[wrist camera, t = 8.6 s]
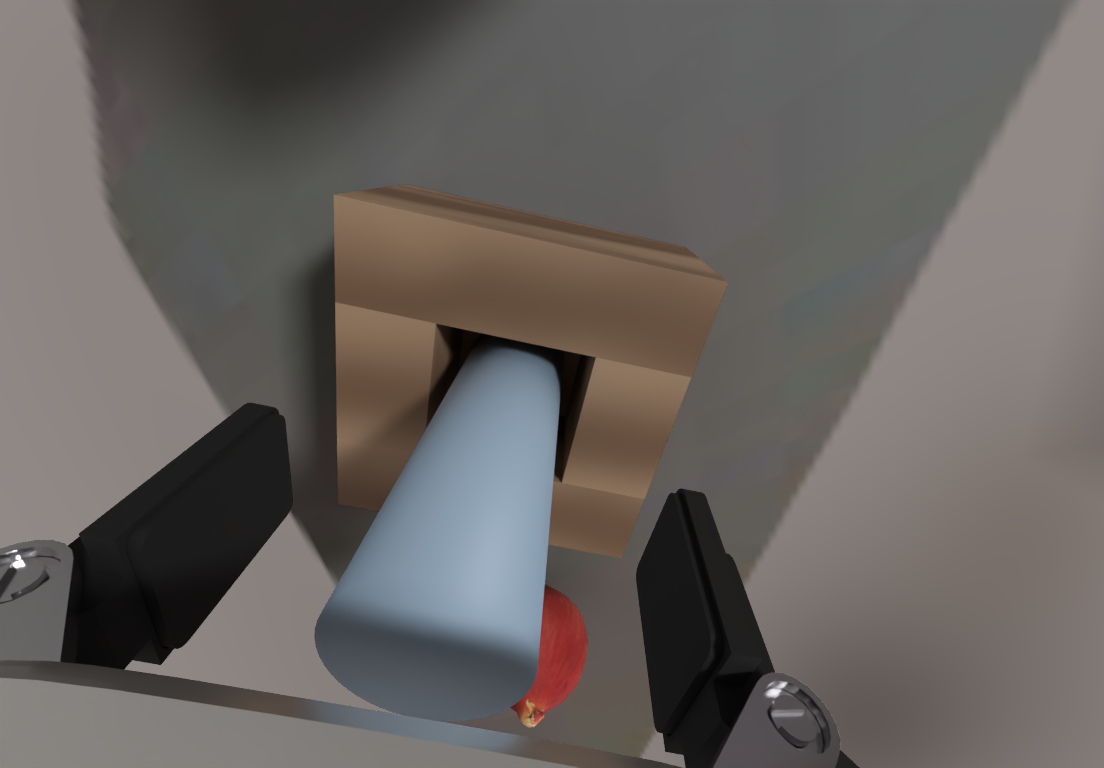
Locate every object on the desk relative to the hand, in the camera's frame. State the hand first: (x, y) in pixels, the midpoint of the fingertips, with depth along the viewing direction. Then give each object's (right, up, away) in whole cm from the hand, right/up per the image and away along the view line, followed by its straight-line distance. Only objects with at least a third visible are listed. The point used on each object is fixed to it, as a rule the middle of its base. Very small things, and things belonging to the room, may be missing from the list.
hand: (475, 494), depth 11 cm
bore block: (+1, +4, +11) cm, 11 cm away
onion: (+1, -10, +18) cm, 21 cm away
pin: (0, +4, +10) cm, 10 cm away
